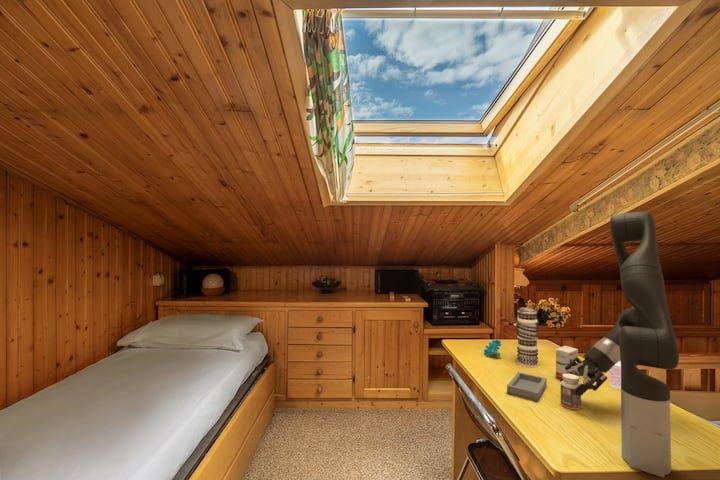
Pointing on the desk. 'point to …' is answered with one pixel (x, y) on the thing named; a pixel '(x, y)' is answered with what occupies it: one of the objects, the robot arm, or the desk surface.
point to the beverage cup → (615, 376)
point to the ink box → (564, 359)
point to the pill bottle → (570, 392)
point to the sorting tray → (527, 386)
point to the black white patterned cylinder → (527, 337)
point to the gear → (493, 348)
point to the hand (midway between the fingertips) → (568, 388)
